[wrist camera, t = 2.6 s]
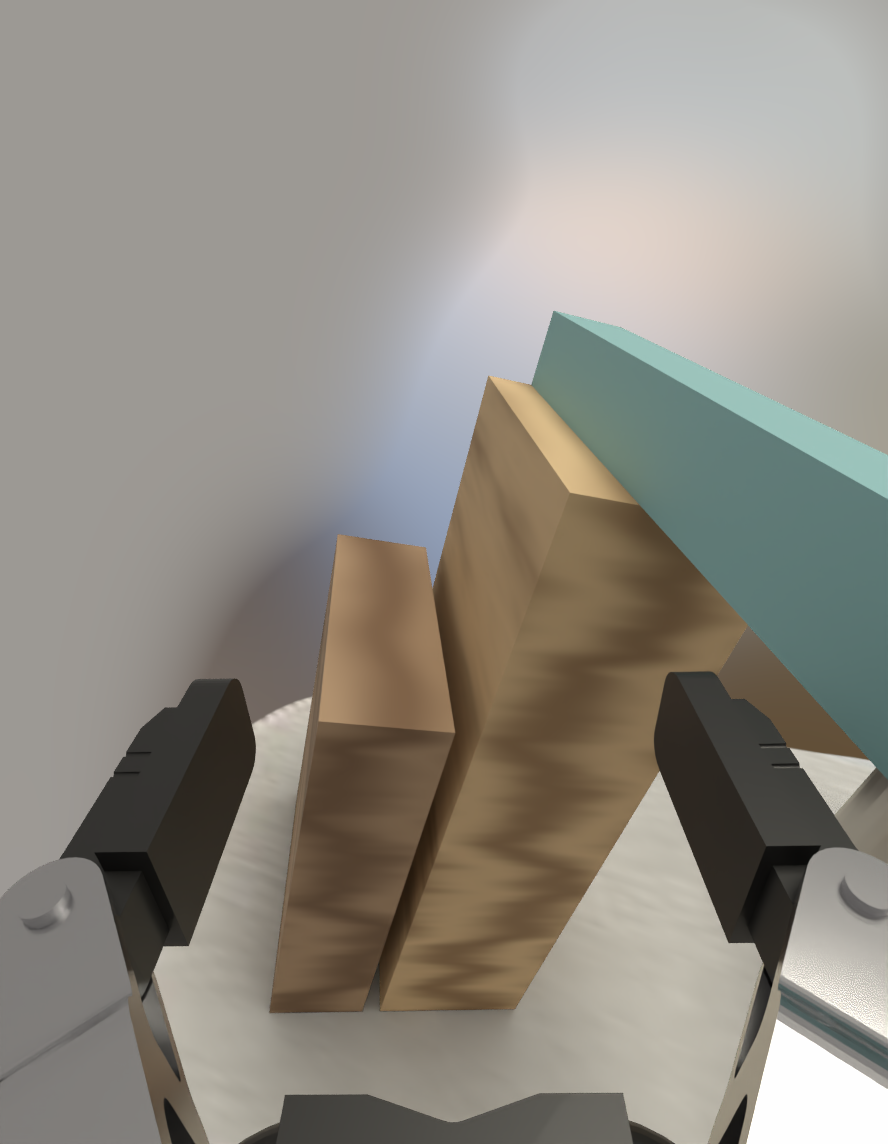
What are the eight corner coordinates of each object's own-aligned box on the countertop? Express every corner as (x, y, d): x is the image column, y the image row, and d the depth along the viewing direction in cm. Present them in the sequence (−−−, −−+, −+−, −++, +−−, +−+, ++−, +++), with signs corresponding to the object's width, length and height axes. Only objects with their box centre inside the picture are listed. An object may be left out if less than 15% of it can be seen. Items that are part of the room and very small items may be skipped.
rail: (595, 399, 30) (621, 327, 28) (1064, 799, 10) (1258, 632, 8) (531, 384, 29) (553, 310, 27) (892, 785, 9) (1063, 598, 7)
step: (364, 797, 44) (425, 547, 33) (362, 1011, 33) (455, 732, 22) (297, 793, 43) (338, 534, 32) (269, 1012, 32) (318, 721, 21)
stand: (478, 804, 46) (635, 407, 30) (514, 1008, 34) (802, 534, 19) (377, 797, 45) (488, 375, 29) (380, 1011, 33) (570, 492, 17)
